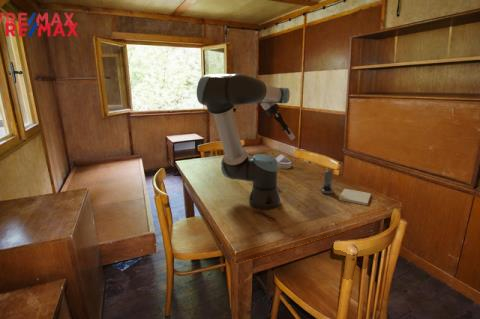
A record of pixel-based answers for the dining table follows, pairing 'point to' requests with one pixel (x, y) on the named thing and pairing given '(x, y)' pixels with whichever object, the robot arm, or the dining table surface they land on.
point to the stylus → (327, 183)
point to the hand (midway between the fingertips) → (292, 137)
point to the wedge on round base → (283, 162)
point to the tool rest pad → (355, 196)
